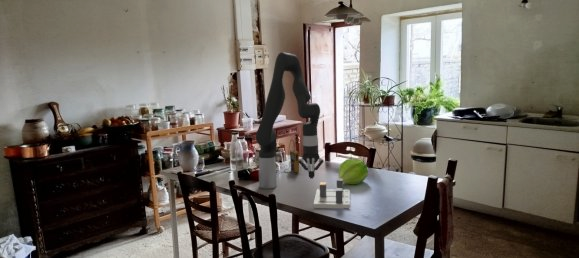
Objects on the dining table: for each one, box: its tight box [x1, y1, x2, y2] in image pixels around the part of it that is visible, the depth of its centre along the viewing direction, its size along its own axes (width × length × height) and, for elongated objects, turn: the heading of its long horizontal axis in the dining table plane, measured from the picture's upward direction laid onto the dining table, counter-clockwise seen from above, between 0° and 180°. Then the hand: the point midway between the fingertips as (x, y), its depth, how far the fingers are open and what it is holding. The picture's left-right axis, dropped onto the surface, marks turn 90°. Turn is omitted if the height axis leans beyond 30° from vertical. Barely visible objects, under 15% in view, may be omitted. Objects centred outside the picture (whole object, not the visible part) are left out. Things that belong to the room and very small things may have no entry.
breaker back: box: [336, 177, 344, 192], centre depth 207 cm, size 3×4×6 cm
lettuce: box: [337, 158, 369, 185], centre depth 225 cm, size 15×22×15 cm
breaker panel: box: [313, 188, 351, 209], centre depth 201 cm, size 17×22×2 cm
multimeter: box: [283, 140, 302, 175], centre depth 252 cm, size 15×10×20 cm
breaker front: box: [335, 187, 342, 203], centre depth 192 cm, size 3×4×6 cm
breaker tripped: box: [319, 181, 327, 197], centre depth 201 cm, size 3×4×6 cm
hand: (311, 178), depth 201 cm, fingers closed
